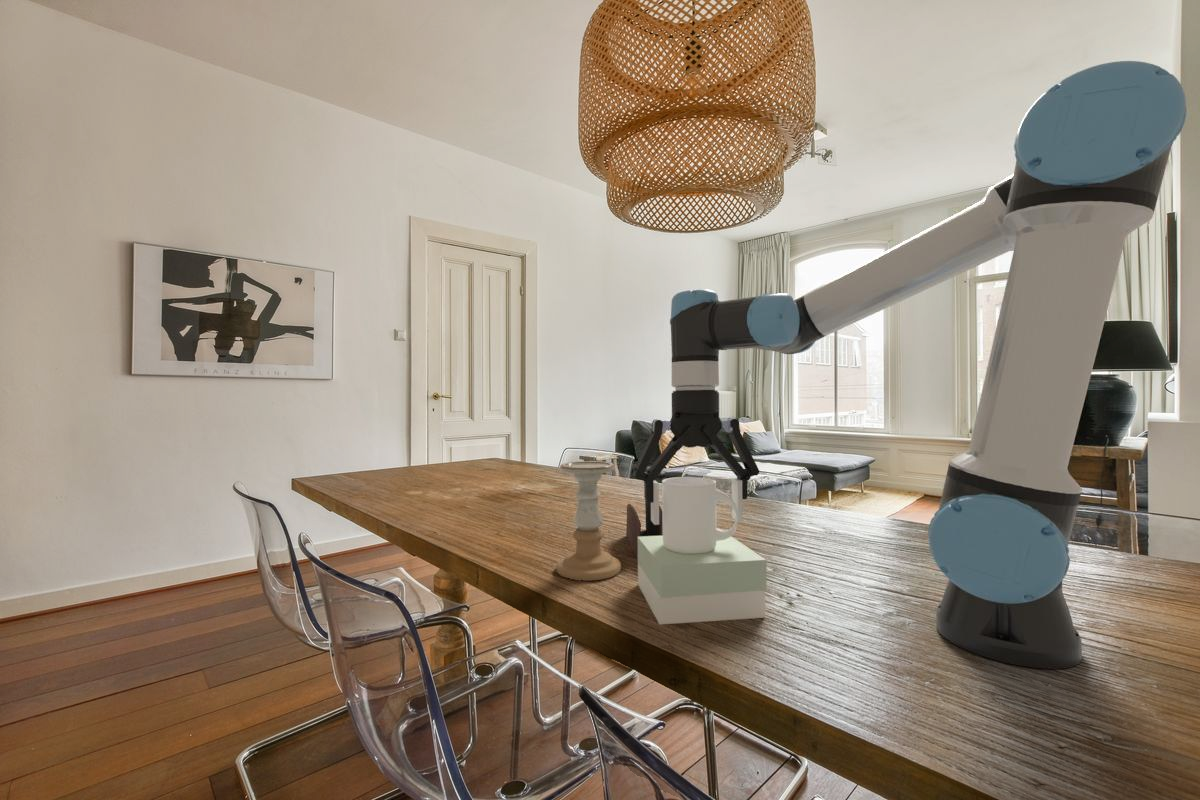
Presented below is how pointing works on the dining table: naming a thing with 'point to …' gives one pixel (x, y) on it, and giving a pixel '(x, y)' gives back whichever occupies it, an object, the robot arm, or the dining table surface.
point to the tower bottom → (702, 604)
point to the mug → (692, 514)
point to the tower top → (701, 568)
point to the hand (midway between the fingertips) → (696, 521)
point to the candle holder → (588, 527)
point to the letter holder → (635, 526)
